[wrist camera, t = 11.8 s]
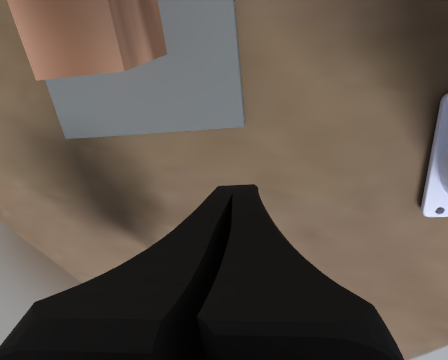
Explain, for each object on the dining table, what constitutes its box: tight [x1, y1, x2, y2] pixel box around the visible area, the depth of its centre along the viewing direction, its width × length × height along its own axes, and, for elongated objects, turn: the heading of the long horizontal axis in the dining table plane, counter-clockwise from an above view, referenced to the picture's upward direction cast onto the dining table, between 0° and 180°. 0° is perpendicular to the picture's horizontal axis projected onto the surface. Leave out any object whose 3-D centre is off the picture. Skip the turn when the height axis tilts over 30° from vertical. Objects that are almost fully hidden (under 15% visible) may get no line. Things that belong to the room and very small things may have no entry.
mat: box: [45, 0, 245, 139], centre depth 18 cm, size 12×14×1 cm
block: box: [7, 0, 167, 80], centre depth 15 cm, size 4×5×6 cm
